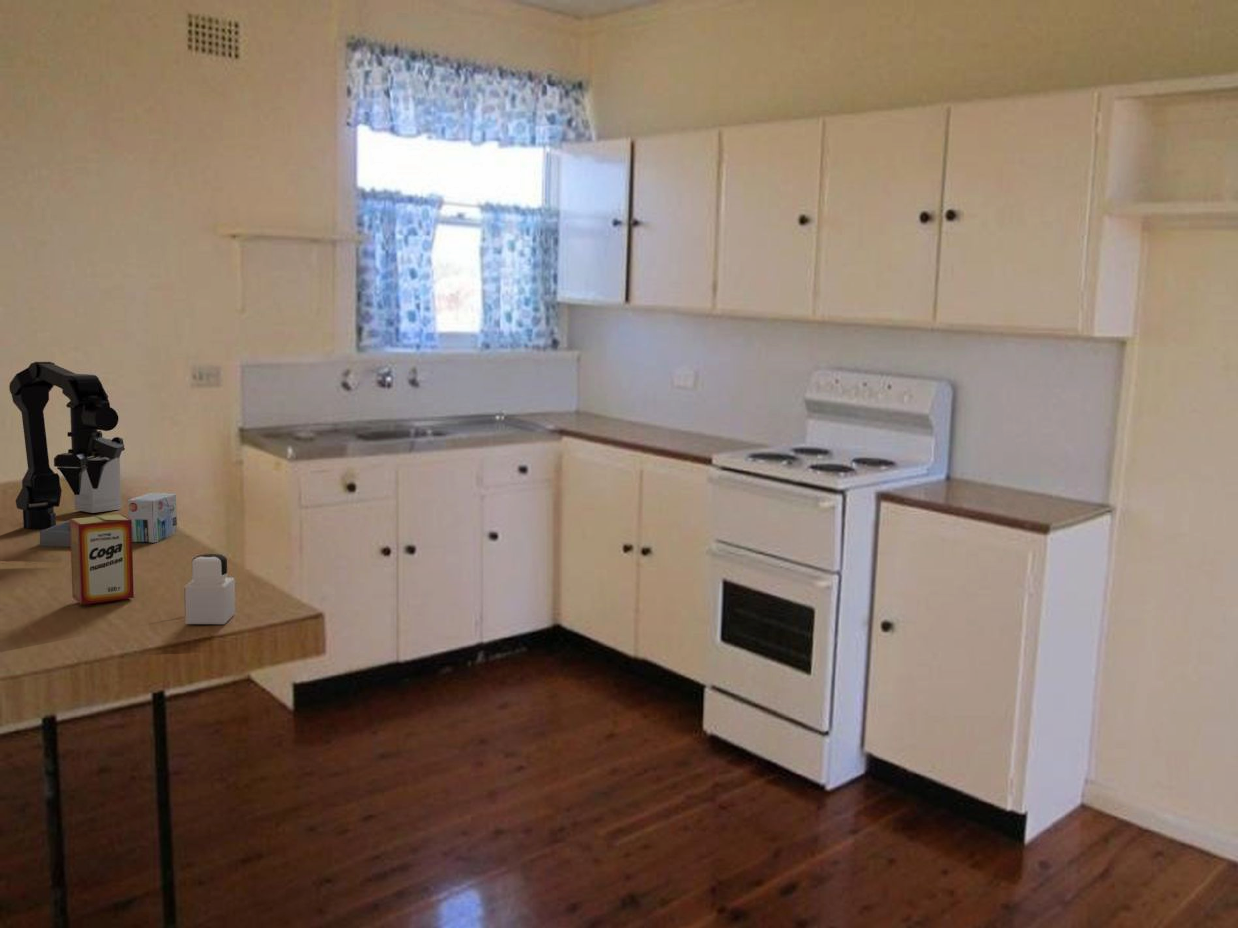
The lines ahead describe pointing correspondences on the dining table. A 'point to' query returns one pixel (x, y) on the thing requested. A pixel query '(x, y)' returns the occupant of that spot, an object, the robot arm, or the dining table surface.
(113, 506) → the supplement box
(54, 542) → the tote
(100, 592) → the baking soda box
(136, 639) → the dining table surface
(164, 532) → the light bulb box
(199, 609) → the medicine bottle
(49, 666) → the dining table surface
